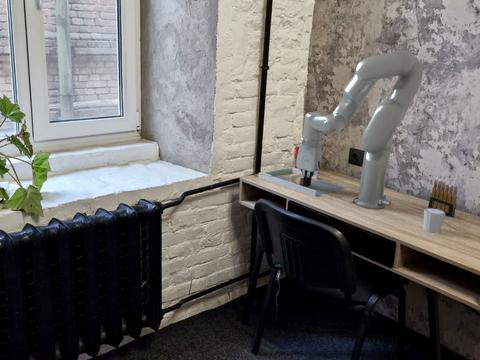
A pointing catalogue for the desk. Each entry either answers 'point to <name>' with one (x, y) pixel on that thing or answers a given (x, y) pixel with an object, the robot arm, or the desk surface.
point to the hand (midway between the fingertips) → (306, 185)
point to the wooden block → (296, 179)
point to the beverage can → (295, 156)
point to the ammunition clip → (443, 199)
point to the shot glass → (433, 220)
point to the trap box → (314, 189)
